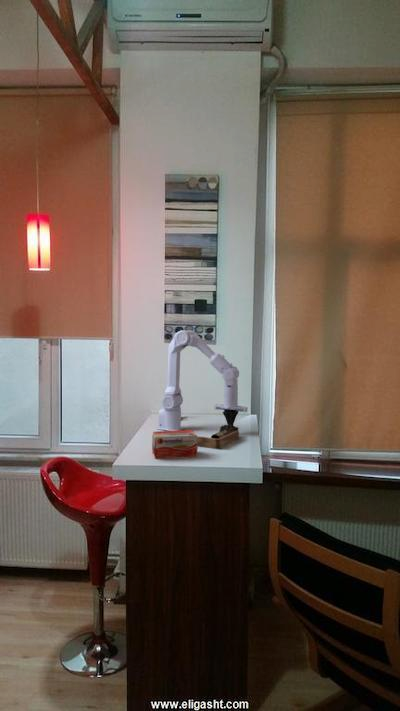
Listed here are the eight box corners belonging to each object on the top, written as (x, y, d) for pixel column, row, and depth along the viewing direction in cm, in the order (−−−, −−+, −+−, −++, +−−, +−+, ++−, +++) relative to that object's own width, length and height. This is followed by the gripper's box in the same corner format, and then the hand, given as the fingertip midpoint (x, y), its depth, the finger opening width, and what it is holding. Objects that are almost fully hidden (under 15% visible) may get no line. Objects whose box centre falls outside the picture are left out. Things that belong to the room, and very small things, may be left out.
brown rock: (221, 446, 186) (221, 431, 186) (206, 444, 190) (205, 430, 189) (241, 437, 201) (241, 423, 201) (226, 435, 205) (226, 422, 205)
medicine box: (154, 459, 167) (154, 436, 167) (151, 453, 175) (151, 431, 175) (197, 457, 171) (197, 434, 170) (193, 451, 179) (193, 429, 178)
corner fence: (188, 444, 187) (188, 435, 187) (209, 435, 203) (209, 427, 203) (218, 449, 181) (219, 439, 181) (238, 439, 196) (238, 430, 196)
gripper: (211, 395, 205) (210, 427, 206) (242, 398, 198) (242, 431, 199) (218, 393, 212) (218, 424, 212) (249, 396, 204) (249, 428, 205)
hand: (230, 427), depth 206 cm, fingers closed
